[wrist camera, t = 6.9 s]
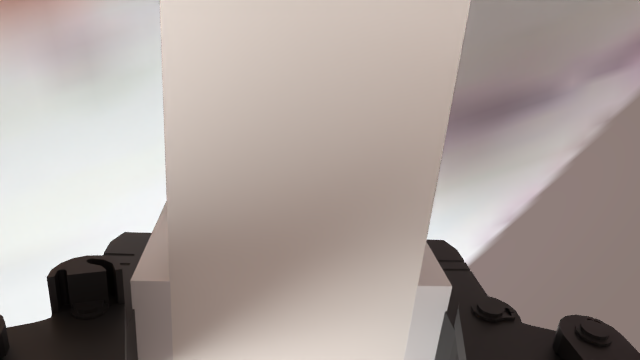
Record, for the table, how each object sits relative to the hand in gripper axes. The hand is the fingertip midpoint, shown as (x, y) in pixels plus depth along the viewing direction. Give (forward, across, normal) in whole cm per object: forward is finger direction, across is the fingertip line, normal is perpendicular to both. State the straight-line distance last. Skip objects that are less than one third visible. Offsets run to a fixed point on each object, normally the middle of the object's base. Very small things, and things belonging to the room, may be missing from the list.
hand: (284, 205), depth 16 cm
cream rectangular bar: (-4, 0, +4) cm, 6 cm away
